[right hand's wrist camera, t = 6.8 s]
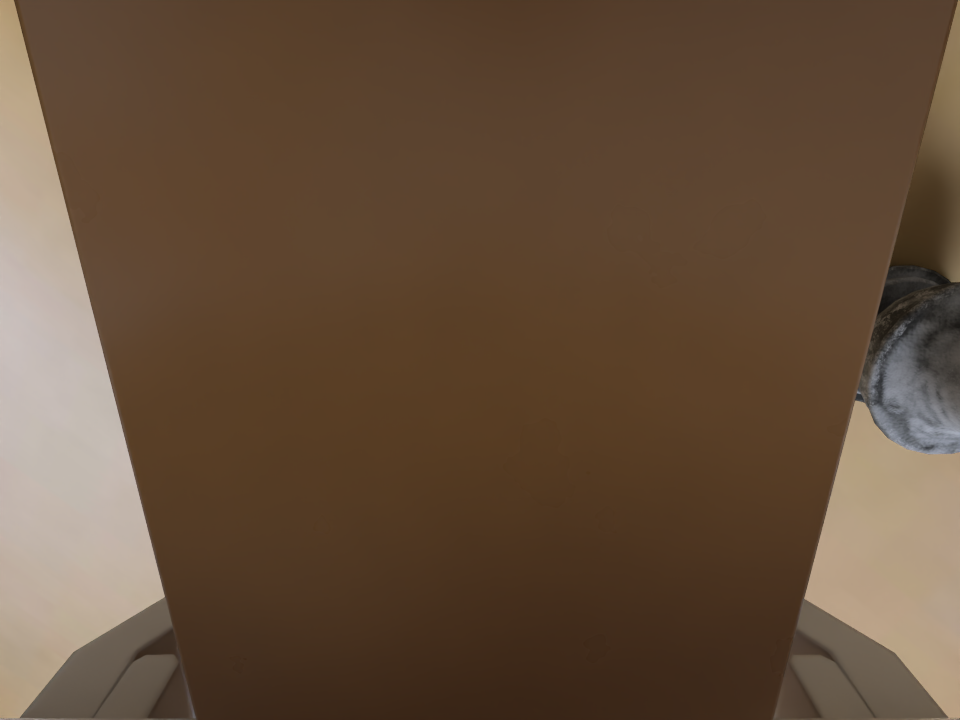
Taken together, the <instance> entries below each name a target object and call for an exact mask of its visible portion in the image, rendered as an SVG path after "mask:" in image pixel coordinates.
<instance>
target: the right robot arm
mask: <svg viewBox="0 0 960 720" xmlns="http://www.w3.org/2000/svg"><path fill="white" fill-rule="evenodd" d="M0 720H196V717H195V713H194V709H193V705H192V701H191V697H190V693H189V689H188V685H187V681H186V677H185V673H184V669H183V665H182V661H181V658H180V654H179V650H178V646H177V642H176V638H175V634H174V630H173V626H172V622H171V618H170V614H169V610H168V606H167V602H166V598H163V599H161V600H160V601H158V602H156V603H155V604H153V605H151V606H150V607H148V608H146V609H145V610H143V611H141V612H140V613H138V614H136V615H135V616H133V617H131V618H130V619H128V620H126V621H125V622H123V623H121V624H120V625H118V626H116V627H115V628H113V629H111V630H110V631H108V632H106V633H105V634H103V635H101V636H100V637H98V638H96V639H95V640H93V641H91V642H90V643H88V644H86V645H85V646H83V647H81V648H80V649H78V650H76V651H75V652H73V654H72V655H71V656H70V657H69V658H68V660H67V661H66V662H65V663H64V664H63V666H62V667H61V668H60V669H59V671H58V672H57V673H56V674H55V675H54V677H53V678H52V679H51V680H50V682H49V683H48V684H47V685H46V686H45V688H44V689H43V690H42V691H41V693H40V694H39V695H38V696H37V697H36V699H35V700H34V701H33V702H32V704H31V705H30V706H29V707H28V708H27V710H26V711H25V712H24V713H23V714H22V716H21V717H20V718H0ZM773 720H960V718H948V717H947V715H946V714H945V713H944V712H943V711H942V709H941V708H940V707H939V706H938V704H937V703H936V702H935V701H934V700H933V698H932V697H931V696H930V695H929V694H928V692H927V691H926V690H925V689H924V688H923V686H922V685H921V684H920V683H919V682H918V680H917V679H916V678H915V677H914V676H913V674H912V673H911V672H910V671H909V670H908V668H907V667H906V666H905V665H904V664H903V662H902V661H901V660H900V659H899V657H898V656H897V655H896V654H895V653H894V652H892V651H891V650H889V649H887V648H885V647H884V646H882V645H880V644H879V643H877V642H875V641H874V640H872V639H870V638H869V637H867V636H865V635H864V634H862V633H860V632H859V631H857V630H855V629H854V628H852V627H850V626H849V625H847V624H845V623H844V622H842V621H840V620H839V619H837V618H835V617H834V616H832V615H830V614H829V613H827V612H825V611H824V610H822V609H820V608H819V607H817V606H815V605H814V604H812V603H810V602H808V601H807V600H805V599H804V601H803V604H802V608H801V612H800V616H799V620H798V624H797V628H796V632H795V636H794V639H793V643H792V647H791V651H790V655H789V659H788V663H787V667H786V671H785V674H784V678H783V682H782V686H781V690H780V694H779V698H778V702H777V706H776V709H775V713H774V717H773Z"/></svg>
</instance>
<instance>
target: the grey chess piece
mask: <svg viewBox="0 0 960 720" xmlns="http://www.w3.org/2000/svg"><path fill="white" fill-rule="evenodd" d="M855 400H856V401H861V402H865V403H866V406H867V407H868V408H869V410H870V413H871V415H872V418H873V420H874V423H875V424H876V425H877V426H878V427H879V429H880V430H881V431H882V432H883V433H884V434H885V435H886V436H887V438H889V439H890V440H892V441H894V442H896V443H897V444H899V445H901V446H903V447H904V448H906V449H909V450H913V451H917V452H922V453H926V454H953V453H957V452H960V282H955V283H951V282H950V281H949V280H948V279H946V278H945V277H943V276H942V275H940V274H939V273H937V272H935V271H933V270H929V269H926V268H922V267H918V266H892V267H889V270H888V274H887V278H886V282H885V286H884V289H883V293H882V297H881V301H880V305H879V309H878V313H877V317H876V321H875V324H874V328H873V332H872V336H871V340H870V344H869V348H868V352H867V356H866V359H865V363H864V367H863V371H862V375H861V379H860V383H859V387H858V391H857V394H856V398H855Z"/></svg>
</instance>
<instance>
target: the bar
mask: <svg viewBox="0 0 960 720" xmlns="http://www.w3.org/2000/svg"><path fill="white" fill-rule="evenodd" d="M14 2H15V6H16V9H17V13H18V17H19V21H20V25H21V29H22V33H23V37H24V41H25V45H26V49H27V53H28V57H29V61H30V65H31V69H32V73H33V77H34V81H35V85H36V89H37V92H38V96H39V100H40V104H41V108H42V112H43V116H44V120H45V124H46V128H47V132H48V136H49V140H50V144H51V148H52V152H53V156H54V160H55V164H56V168H57V171H58V175H59V179H60V183H61V187H62V191H63V195H64V199H65V203H66V207H67V211H68V215H69V219H70V223H71V227H72V231H73V235H74V239H75V243H76V247H77V251H78V254H79V258H80V262H81V266H82V270H83V274H84V278H85V282H86V286H87V290H88V294H89V298H90V302H91V306H92V310H93V314H94V318H95V322H96V326H97V330H98V333H99V337H100V341H101V345H102V349H103V353H104V357H105V361H106V365H107V369H108V373H109V377H110V381H111V385H112V389H113V393H114V397H115V401H116V405H117V409H118V413H119V416H120V420H121V424H122V428H123V432H124V436H125V440H126V444H127V448H128V452H129V456H130V460H131V464H132V468H133V472H134V476H135V480H136V484H137V488H138V492H139V496H140V499H141V503H142V507H143V511H144V515H145V519H146V523H147V527H148V531H149V535H150V539H151V543H152V547H153V551H154V555H155V559H156V563H157V567H158V571H159V575H160V578H161V582H162V586H163V590H164V594H165V598H166V602H167V606H168V610H169V614H170V618H171V622H172V626H173V630H174V634H175V638H176V642H177V646H178V650H179V654H180V658H181V661H182V665H183V669H184V673H185V677H186V681H187V685H188V689H189V693H190V697H191V701H192V705H193V709H194V713H195V717H196V720H773V717H774V713H775V709H776V706H777V702H778V698H779V694H780V690H781V686H782V682H783V678H784V674H785V671H786V667H787V663H788V659H789V655H790V651H791V647H792V643H793V639H794V636H795V632H796V628H797V624H798V620H799V616H800V612H801V608H802V604H803V601H804V597H805V593H806V589H807V585H808V581H809V577H810V573H811V569H812V566H813V562H814V558H815V554H816V550H817V546H818V542H819V538H820V534H821V531H822V527H823V523H824V519H825V515H826V511H827V507H828V503H829V499H830V496H831V492H832V488H833V484H834V480H835V476H836V472H837V468H838V464H839V461H840V457H841V453H842V449H843V445H844V441H845V437H846V433H847V429H848V426H849V422H850V418H851V414H852V410H853V406H854V402H855V398H856V394H857V391H858V387H859V383H860V379H861V375H862V371H863V367H864V363H865V359H866V356H867V352H868V348H869V344H870V340H871V336H872V332H873V328H874V324H875V321H876V317H877V313H878V309H879V305H880V301H881V297H882V293H883V289H884V286H885V282H886V278H887V274H888V270H889V266H890V262H891V258H892V254H893V251H894V247H895V243H896V239H897V235H898V231H899V227H900V223H901V219H902V216H903V212H904V208H905V204H906V200H907V196H908V192H909V188H910V184H911V181H912V177H913V173H914V169H915V165H916V161H917V157H918V153H919V149H920V146H921V142H922V138H923V134H924V130H925V126H926V122H927V118H928V114H929V111H930V107H931V103H932V99H933V95H934V91H935V87H936V83H937V79H938V76H939V72H940V68H941V64H942V60H943V56H944V52H945V48H946V44H947V41H948V37H949V33H950V29H951V25H952V21H953V17H954V13H955V10H956V6H957V2H958V0H14Z"/></svg>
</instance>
